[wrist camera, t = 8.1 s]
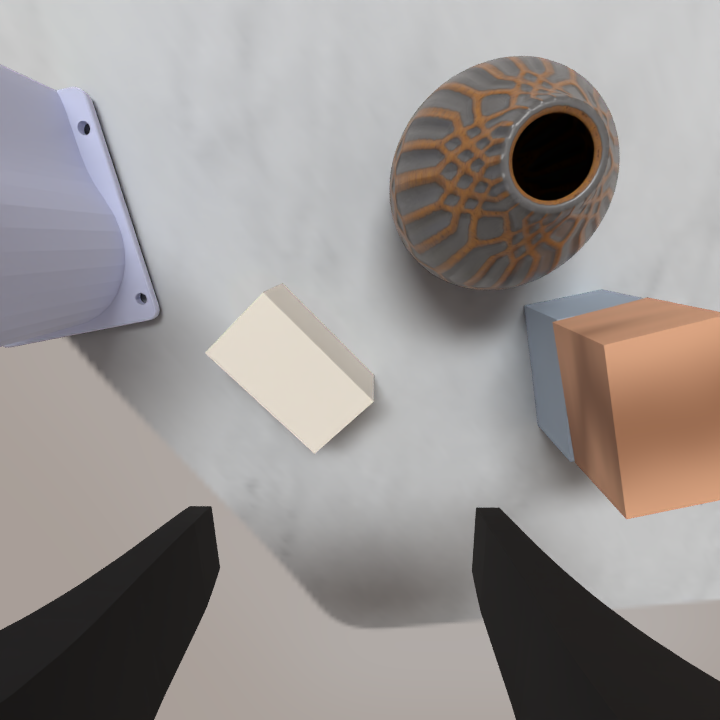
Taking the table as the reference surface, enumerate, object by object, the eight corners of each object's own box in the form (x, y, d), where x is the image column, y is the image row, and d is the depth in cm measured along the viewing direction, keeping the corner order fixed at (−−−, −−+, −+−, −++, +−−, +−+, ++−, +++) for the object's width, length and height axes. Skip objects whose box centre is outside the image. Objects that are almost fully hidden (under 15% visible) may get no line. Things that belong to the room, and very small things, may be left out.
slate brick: (523, 305, 19) (556, 319, 15) (600, 289, 18) (652, 300, 15) (537, 424, 20) (570, 461, 17) (608, 411, 20) (657, 447, 17)
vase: (547, 274, 18) (695, 303, 10) (391, 285, 19) (404, 321, 10) (556, 96, 16) (749, -56, 8) (382, 112, 17) (389, -17, 8)
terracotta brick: (661, 443, 16) (737, 496, 13) (575, 462, 17) (626, 519, 13) (647, 297, 15) (729, 313, 12) (552, 321, 15) (603, 345, 12)
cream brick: (234, 333, 20) (204, 352, 16) (283, 282, 19) (263, 292, 15) (324, 418, 21) (314, 453, 17) (373, 373, 20) (373, 401, 17)
